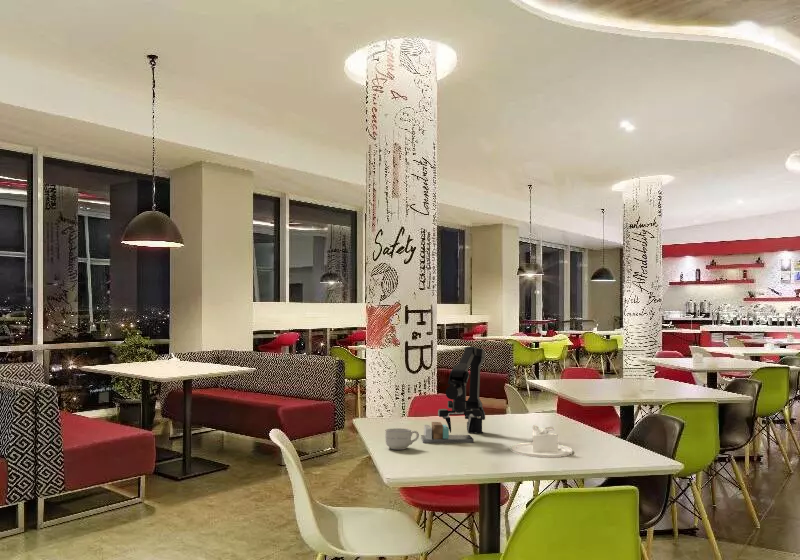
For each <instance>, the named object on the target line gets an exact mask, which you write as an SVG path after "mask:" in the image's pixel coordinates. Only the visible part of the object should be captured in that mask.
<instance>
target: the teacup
mask: <svg viewBox="0 0 800 560" xmlns="http://www.w3.org/2000/svg"><path fill="white" fill-rule="evenodd" d="M413 434H416V437H415V438H414V439H412V437H413ZM419 437H420V433H419V431H417V430H411V429H410V428H401V427H400V428H398V427H396V428H394V427H393V428H386V429H385V444H386V447H389V449H391V450H399V451H400V450H406V449H407V448H408V447H409V446H411V445H412V444H413V443H414V442H416V441H417V440H418V439H419Z"/></svg>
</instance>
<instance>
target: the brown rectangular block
mask: <svg viewBox="0 0 800 560" xmlns="http://www.w3.org/2000/svg"><path fill="white" fill-rule="evenodd" d="M443 425H444V424H443V423H442V422H441V421H431V428H432V437H433V439H443Z"/></svg>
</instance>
